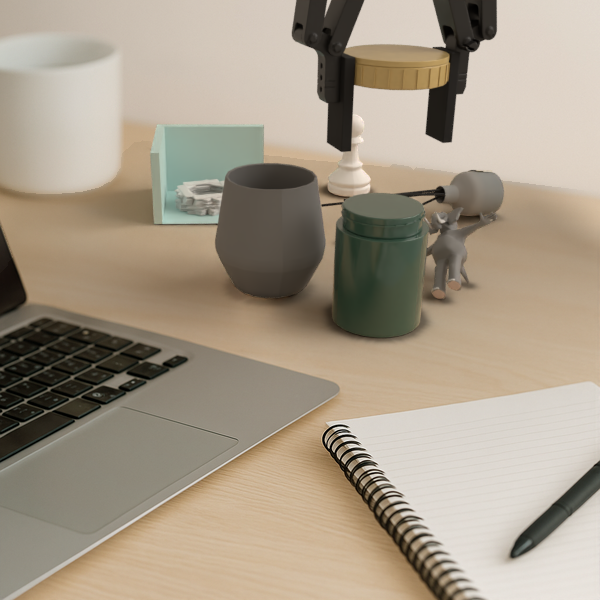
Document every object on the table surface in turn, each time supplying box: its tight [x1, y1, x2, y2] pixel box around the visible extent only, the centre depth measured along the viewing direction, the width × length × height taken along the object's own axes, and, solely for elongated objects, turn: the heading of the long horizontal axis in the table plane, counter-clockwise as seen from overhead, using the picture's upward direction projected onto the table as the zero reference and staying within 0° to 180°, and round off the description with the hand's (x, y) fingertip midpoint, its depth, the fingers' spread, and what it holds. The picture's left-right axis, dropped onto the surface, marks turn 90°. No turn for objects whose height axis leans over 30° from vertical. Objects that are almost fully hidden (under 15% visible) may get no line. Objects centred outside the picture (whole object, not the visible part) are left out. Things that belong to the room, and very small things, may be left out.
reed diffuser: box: [321, 169, 505, 217], centre depth 86 cm, size 10×7×20 cm
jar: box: [331, 192, 430, 339], centre depth 65 cm, size 7×7×10 cm
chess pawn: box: [327, 113, 372, 198], centre depth 95 cm, size 5×5×9 cm
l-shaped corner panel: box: [149, 123, 265, 225], centre depth 90 cm, size 12×12×8 cm
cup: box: [214, 162, 327, 299], centre depth 70 cm, size 10×9×10 cm
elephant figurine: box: [423, 207, 498, 300], centre depth 73 cm, size 10×6×9 cm
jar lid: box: [344, 43, 450, 91], centre depth 59 cm, size 8×8×2 cm
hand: (389, 142), depth 61 cm, fingers closed on jar lid, 7 cm apart
